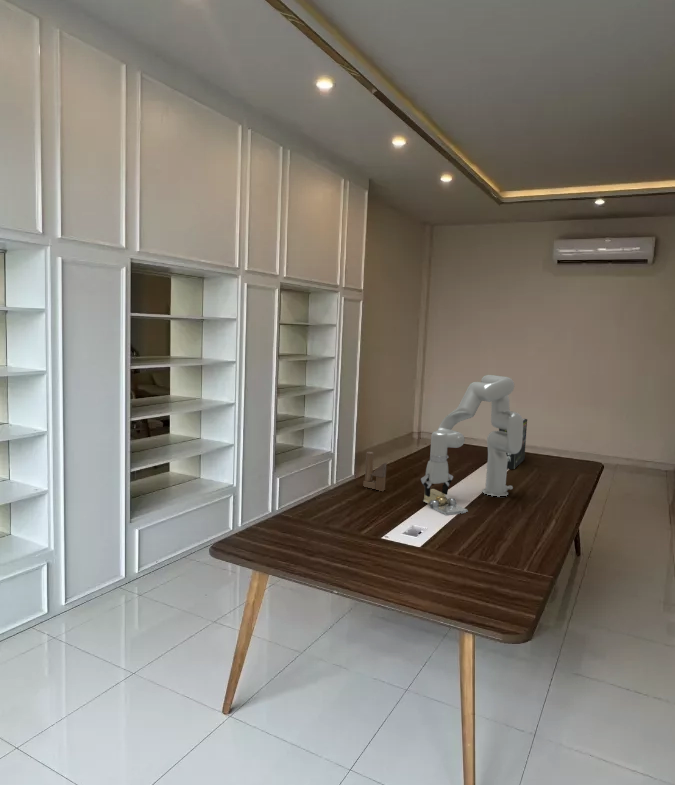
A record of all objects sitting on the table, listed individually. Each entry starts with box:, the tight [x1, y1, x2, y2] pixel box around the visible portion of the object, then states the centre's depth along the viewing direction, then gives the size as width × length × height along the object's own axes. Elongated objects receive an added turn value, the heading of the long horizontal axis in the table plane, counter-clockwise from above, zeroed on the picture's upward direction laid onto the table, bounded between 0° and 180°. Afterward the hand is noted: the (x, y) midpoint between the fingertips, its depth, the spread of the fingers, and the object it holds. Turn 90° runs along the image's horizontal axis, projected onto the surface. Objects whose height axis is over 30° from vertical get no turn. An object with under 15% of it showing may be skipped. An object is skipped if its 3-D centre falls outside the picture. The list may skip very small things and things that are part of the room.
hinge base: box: [428, 497, 469, 516], centre depth 256 cm, size 14×12×4 cm
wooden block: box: [362, 451, 388, 492], centre depth 284 cm, size 4×11×18 cm, turn 56°
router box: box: [498, 418, 528, 470], centre depth 355 cm, size 36×11×27 cm, turn 152°
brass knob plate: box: [423, 488, 448, 507], centre depth 265 cm, size 5×12×5 cm, turn 26°
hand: (436, 494), depth 265 cm, fingers open, 9 cm apart
